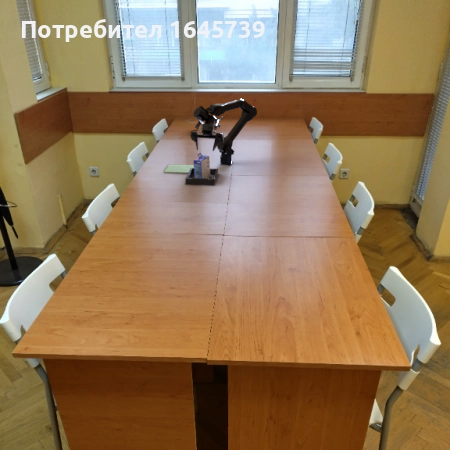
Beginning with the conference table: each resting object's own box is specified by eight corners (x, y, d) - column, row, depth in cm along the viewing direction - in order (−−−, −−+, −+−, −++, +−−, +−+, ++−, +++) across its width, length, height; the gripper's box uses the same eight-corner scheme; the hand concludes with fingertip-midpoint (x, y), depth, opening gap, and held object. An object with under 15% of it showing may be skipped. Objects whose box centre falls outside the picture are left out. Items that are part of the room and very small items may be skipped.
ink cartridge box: (202, 176, 260) (201, 150, 252) (210, 177, 258) (210, 151, 250) (193, 181, 253) (192, 155, 244) (202, 182, 251) (201, 156, 242)
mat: (201, 166, 275) (201, 165, 275) (197, 173, 263) (197, 172, 263) (168, 165, 277) (168, 164, 276) (164, 172, 265) (164, 171, 265)
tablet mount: (208, 143, 341) (220, 125, 333) (192, 131, 337) (205, 113, 329) (211, 134, 363) (223, 117, 355) (196, 123, 359) (208, 105, 351)
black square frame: (218, 174, 262) (218, 168, 260) (214, 185, 247) (214, 179, 245) (190, 173, 263) (190, 167, 261) (185, 184, 249) (185, 178, 247)
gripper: (190, 116, 252) (186, 141, 249) (223, 117, 249) (219, 143, 246) (194, 127, 263) (190, 152, 260) (225, 129, 260) (222, 154, 257)
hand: (205, 150), depth 255 cm, fingers open, 9 cm apart
